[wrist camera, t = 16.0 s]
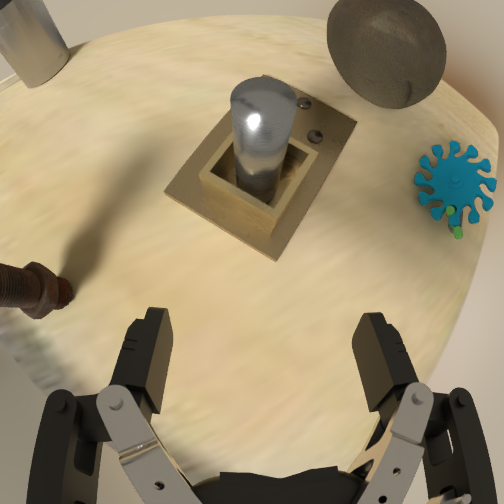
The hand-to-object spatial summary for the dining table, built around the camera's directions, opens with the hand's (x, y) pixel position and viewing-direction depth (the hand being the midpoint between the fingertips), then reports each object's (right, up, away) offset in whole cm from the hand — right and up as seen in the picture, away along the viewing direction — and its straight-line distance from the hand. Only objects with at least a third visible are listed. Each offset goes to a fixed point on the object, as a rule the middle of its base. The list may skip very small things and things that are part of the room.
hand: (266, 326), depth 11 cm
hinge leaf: (+1, +13, +16) cm, 20 cm away
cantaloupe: (+14, +24, +19) cm, 34 cm away
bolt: (-19, -1, +13) cm, 23 cm away
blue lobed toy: (+21, +9, +16) cm, 28 cm away
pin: (0, +9, +14) cm, 17 cm away
